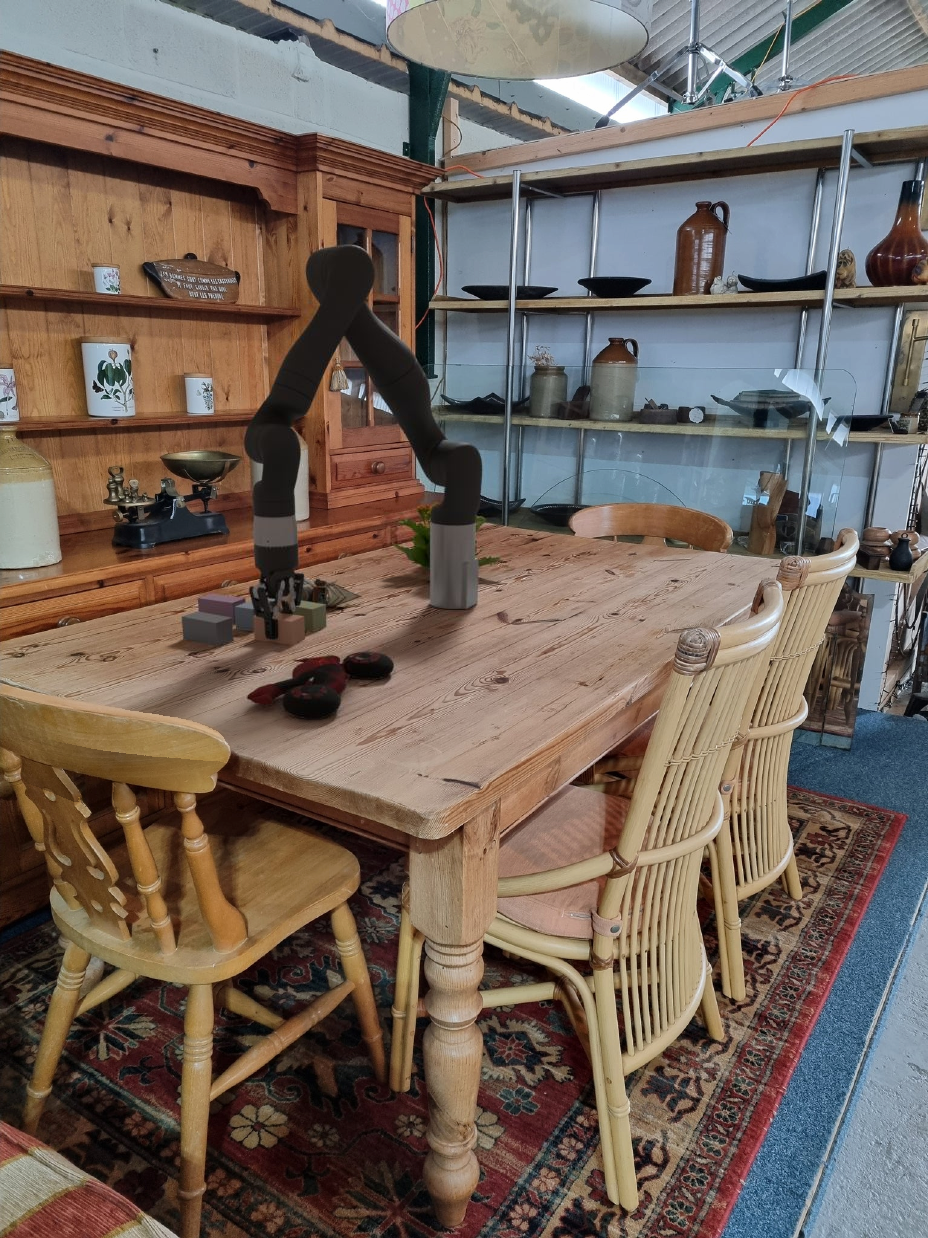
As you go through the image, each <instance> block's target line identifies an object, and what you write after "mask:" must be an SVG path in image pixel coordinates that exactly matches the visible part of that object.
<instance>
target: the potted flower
mask: <svg viewBox="0 0 928 1238" xmlns="http://www.w3.org/2000/svg"><path fill="white" fill-rule="evenodd" d="M439 504H440V502H437V501H436V502H434V503H433V504H432V505H429V504H425V506H424V505H423V504H420V506H419V505H418V506H416V512H418V514H419V515H420V516H417V518H418V519H419V520H421V521H422V522H423V523H422V522H418V523H417V522H415V521H413V520H412V519H407V518H405V519H403V520H404V521H402V520H398V523H397V525H402V526H405V527H408V528H410V529H411V530H412V531H413V532H414V533H415V534H414V535H413V538H412V541H411V542H412V544H413V546H414V547H411V548H408V547H404V546H402V545H401V546H400V545H399V544H397V543H395V542H391V544H392V545H393V546H394V547H395V548H396V549H398V550H399V551H400V552H402V553H404V554H405V555H406V558H407V559H408V560H409V561H410V562H411V563H412V564H418V565H420V566H421V567H423V568H425V569H427V570H429V571H430V529H431V521H430V519H431V509H432V508H433V507H434V506H436V505H439ZM480 521H481V522H480ZM478 522H480V523H478ZM485 522H487V518H485V517H484V516H481V515H480V516H478V515H477V514H476V533H477V532H478V531H479V530H480V529H481V527H482V526H483V525H484V524H485ZM427 526H428V527H427ZM477 542H478V540H477V539H475V557H477V556H478V555H479V554H480V553H482V552H483V551H484V549H485V548H482V549H480V550H479V551H478V550H477V548H478V547H477V546H476V545H477ZM478 560H479V562H478V567H482V566H487V565H490V564H493V563H497V562H498V563H499V562H500V561H501V562H502V561H504V559H501V558H500V557H498V556H496V557H492V556H489V557H486V556H484V557H481V559H480V558H478Z"/></svg>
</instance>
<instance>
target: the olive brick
mask: <svg viewBox="0 0 928 1238" xmlns="http://www.w3.org/2000/svg"><path fill="white" fill-rule="evenodd" d="M285 602H286V601H285ZM281 611H283V610H281V608H280V606H279V607H278V613H280V612H281ZM293 615H300V616H304V624H305V631H309V632H315V631H318V630H321V629H323V628H326V627H327V606H326V605H325V604H319V603H313V602H308V601H302V600H301V604H300V606H296V608H295V611H294V612H293Z"/></svg>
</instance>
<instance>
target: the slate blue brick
mask: <svg viewBox="0 0 928 1238" xmlns="http://www.w3.org/2000/svg"><path fill="white" fill-rule="evenodd" d="M268 600H269V601H275V599H269V598H268ZM269 607H270V611H271V612H272V605H269ZM260 608H261V610H262V607H260ZM253 616H255V611H254V608H253V604H252V600H251V599H250V600H249V601H246V603H243V604H240V605H238V606H235V620H236V624H235V629H236V630H243V631H250V632H254V621H253Z"/></svg>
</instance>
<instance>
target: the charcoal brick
mask: <svg viewBox="0 0 928 1238" xmlns="http://www.w3.org/2000/svg"><path fill="white" fill-rule="evenodd" d="M181 625H182V639H183V640H184V641H189V642H194V643H199V644H203V645H207V646H213V647H219V646H222V645H225V644H228V643H231V642H233V641H234V629H233V628H234V627H233V624H232V618H231V617H226V616H220V615H215V614H209V613H204V612H199V611H195V612H192V613H188V614H186V615H182V616H181Z"/></svg>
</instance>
